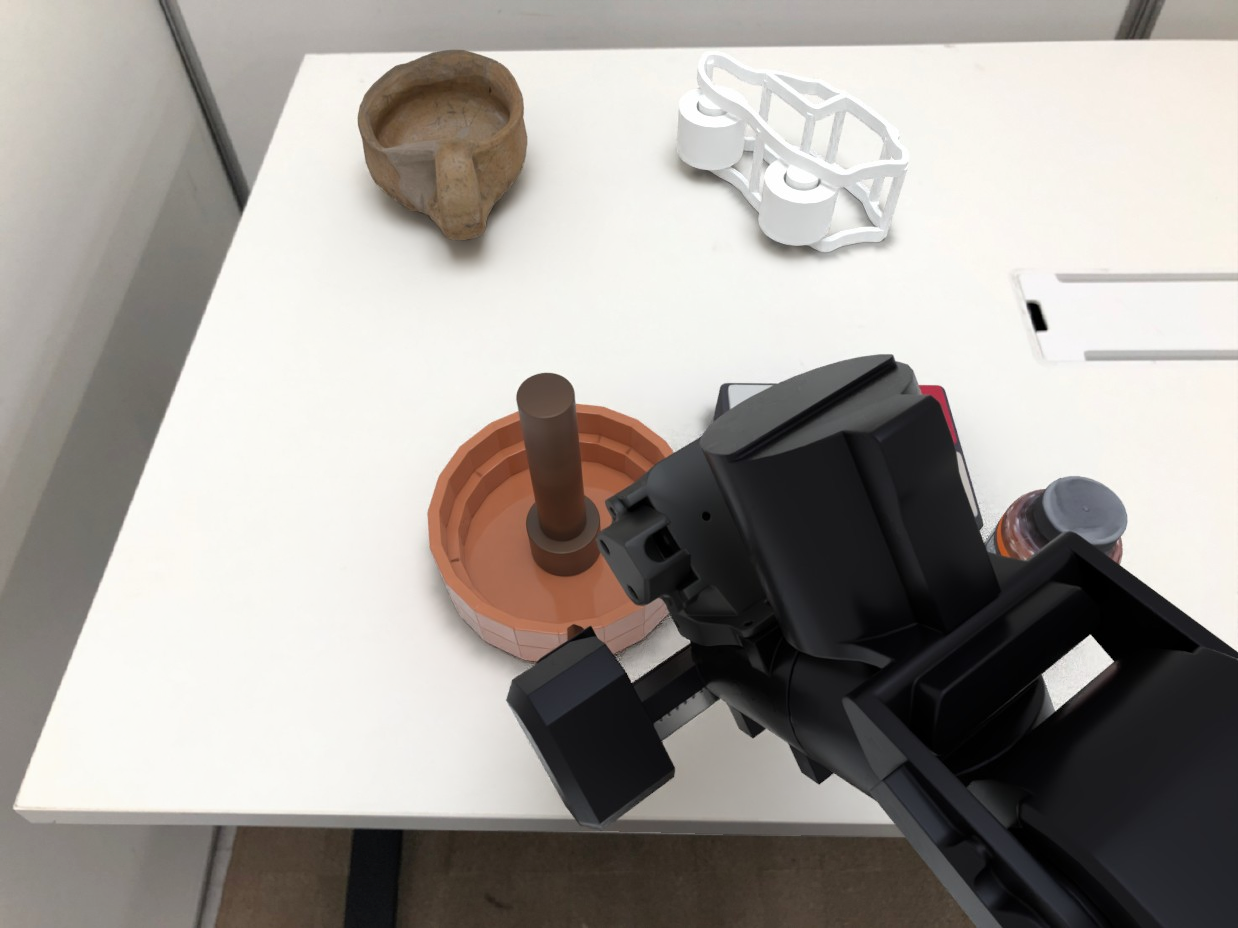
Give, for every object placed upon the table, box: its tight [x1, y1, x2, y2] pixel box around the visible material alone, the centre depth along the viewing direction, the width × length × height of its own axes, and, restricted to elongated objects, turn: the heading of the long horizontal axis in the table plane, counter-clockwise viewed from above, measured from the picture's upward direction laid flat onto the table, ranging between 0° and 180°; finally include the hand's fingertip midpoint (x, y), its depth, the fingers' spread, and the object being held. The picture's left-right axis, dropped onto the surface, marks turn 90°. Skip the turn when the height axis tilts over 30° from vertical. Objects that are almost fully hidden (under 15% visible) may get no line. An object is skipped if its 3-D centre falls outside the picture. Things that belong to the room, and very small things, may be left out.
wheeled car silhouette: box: [676, 50, 910, 253], centre depth 70 cm, size 20×11×7 cm, turn 33°
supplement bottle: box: [984, 475, 1129, 565], centre depth 47 cm, size 6×6×11 cm
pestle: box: [515, 372, 601, 576], centre depth 47 cm, size 4×4×15 cm
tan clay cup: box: [357, 49, 528, 241], centre depth 69 cm, size 18×14×10 cm
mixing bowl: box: [427, 403, 675, 662], centre depth 52 cm, size 15×15×5 cm
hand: (653, 583), depth 42 cm, fingers open, 9 cm apart
